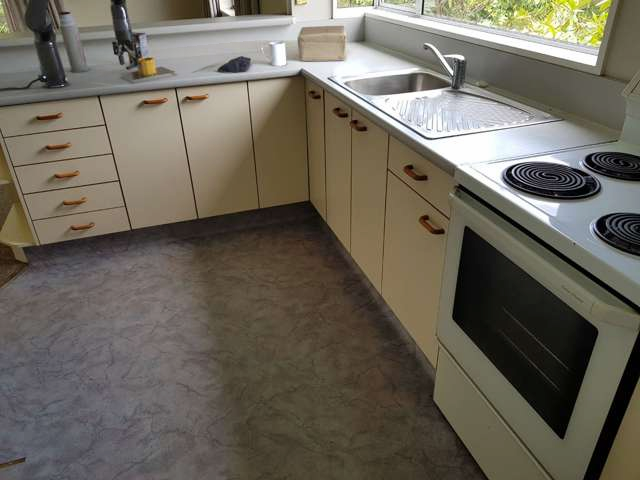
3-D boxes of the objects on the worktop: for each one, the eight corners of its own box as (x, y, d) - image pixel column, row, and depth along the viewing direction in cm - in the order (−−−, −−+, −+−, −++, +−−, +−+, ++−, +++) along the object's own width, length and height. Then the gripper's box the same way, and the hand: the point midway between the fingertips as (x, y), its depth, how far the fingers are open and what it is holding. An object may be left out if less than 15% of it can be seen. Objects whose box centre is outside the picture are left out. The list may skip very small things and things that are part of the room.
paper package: (301, 51, 291) (300, 25, 284) (346, 50, 290) (346, 24, 283) (297, 62, 268) (296, 34, 261) (346, 61, 267) (346, 33, 260)
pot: (146, 70, 254) (143, 56, 251) (159, 71, 251) (157, 57, 248) (122, 78, 241) (119, 64, 238) (136, 79, 238) (133, 65, 235)
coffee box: (129, 66, 270) (123, 34, 261) (137, 63, 275) (130, 31, 267) (144, 67, 267) (138, 34, 259) (151, 64, 273) (145, 32, 264)
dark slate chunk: (256, 62, 270) (255, 53, 267) (245, 72, 251) (245, 62, 249) (228, 62, 272) (227, 53, 269) (216, 72, 253) (214, 62, 251)
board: (133, 83, 239) (132, 79, 238) (120, 77, 250) (119, 74, 249) (176, 75, 251) (175, 71, 250) (162, 69, 261) (161, 66, 261)
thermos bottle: (91, 68, 267) (76, 10, 252) (82, 72, 260) (66, 13, 246) (77, 68, 268) (62, 10, 254) (68, 72, 262) (52, 13, 247)
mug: (286, 62, 269) (285, 41, 263) (285, 65, 262) (283, 44, 257) (263, 62, 269) (262, 41, 264) (261, 66, 263) (259, 44, 257)
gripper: (104, 28, 229) (112, 65, 238) (129, 30, 224) (136, 68, 233) (116, 26, 235) (123, 62, 244) (140, 28, 230) (147, 64, 239)
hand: (130, 65), depth 238 cm, fingers open, 8 cm apart
